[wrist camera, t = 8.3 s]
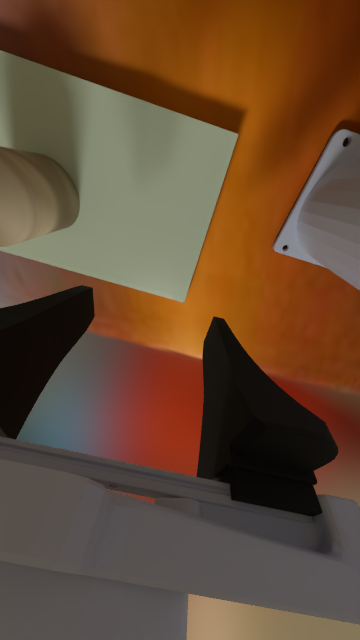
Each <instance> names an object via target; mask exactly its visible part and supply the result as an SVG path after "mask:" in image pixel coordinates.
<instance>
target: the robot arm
mask: <svg viewBox="0 0 360 640" xmlns="http://www.w3.org/2000/svg"><path fill="white" fill-rule="evenodd" d="M345 138H348V144H347V145H346V147H343V141H344V139H345ZM285 245H287V248H286V249H285V250H282V248H283V246H285ZM273 249H274V250H275V251H276V252H278V253H282V254H285V255H288V256H291V257H294V258H298V259H301V260H304V261H307V262H310V263H314V264H317V265H320V266H323V267H326V268H328V269H329V270H331V271H332V272H333V273H335V274H336V275H338V276H339V277H341V278H342V279H344V280H345V281H347V282H348V283H350V284H351V285H353V286H354V287H355V288H357V289H358V290H360V134H358V133H355V132H352V131H349V130H347V129H341V130H339V131H336V132H335V133H334V134H333V135H332V137H331V138H330V140H329V142H328V144H327V145H326V147H325V149H324V151H323V153H322V155H321V157H320V158H319V160H318V162H317V164H316V166H315V168H314V170H313V171H312V173H311V175H310V177H309V179H308V181H307V183H306V184H305V186H304V188H303V190H302V192H301V194H300V196H299V198H298V199H297V201H296V203H295V205H294V207H293V209H292V211H291V212H290V214H289V216H288V218H287V220H286V222H285V224H284V225H283V227H282V229H281V231H280V233H279V235H278V237H277V238H276V240H275V242H274V244H273ZM94 316H95V315H94V302H93V288H91V287H87V286H83V285H82V286H77V287H74V288H71V289H67V290H64V291H61V292H58V293H55V294H52V295H49V296H46V297H43V298H39V299H36V300H32V301H29V302H26V303H22V304H18V305H14V306H9V307H5V308H0V640H186V632H187V610H188V594H194V595H199V596H205V597H210V598H216V599H222V600H227V601H233V602H238V603H244V604H250V605H255V606H261V607H266V608H272V609H277V610H283V611H288V612H294V613H299V614H305V615H310V616H316V617H321V618H327V619H332V620H338V621H343V622H349V623H354V624H360V507H359V505H358V503H357V502H355V501H354V500H350V499H345V498H340V497H335V496H330V495H316V492H315V490H314V487H313V485H315V484H317V479H316V477H315V474H314V472H313V471H314V470H316V469H318V468H320V467H322V466H324V465H326V464H327V463H329V462H331V461H332V460H334V459H335V457H336V456H337V454H338V447H337V445H336V443H335V441H334V439H333V437H332V435H331V433H330V431H329V429H328V427H327V425H326V423H325V422H324V421H323V420H321V419H320V418H318V417H317V416H316V415H314V414H313V413H312V412H310V411H309V410H307V409H306V408H305V407H303V406H302V405H300V404H299V403H298V402H297V401H296V400H294V399H293V398H292V397H291V396H289V395H288V394H287V393H286V392H285V391H284V390H282V389H281V388H280V387H279V386H278V385H276V383H274V381H272V380H271V379H270V378H269V377H268V376H267V375H266V374H265V373H264V372H263V371H262V370H261V369H260V368H259V366H258V365H257V364H256V363H255V362H254V361H253V360H252V359H251V357H250V356H249V355H248V354H247V352H246V351H245V350H244V348H243V347H242V346H241V344H240V343H239V341H238V340H237V339H236V337H235V336H234V334H233V333H232V331H231V329H230V328H229V326H228V325H227V323H226V321H225V320H224V319H222V318H218V317H213V320H212V322H211V325H210V327H209V330H208V333H207V335H206V338H205V340H204V346H203V379H204V404H203V418H202V419H203V420H202V431H201V441H200V452H199V461H198V470H197V477H194V476H189V475H185V474H180V473H175V472H170V471H165V470H160V469H155V468H151V467H146V466H141V465H136V464H131V463H126V462H122V461H117V460H112V459H107V458H102V457H97V456H92V455H88V454H83V453H78V452H73V451H68V450H63V449H59V448H53V447H48V446H44V445H39V444H34V443H29V442H25V441H20V440H16V438H17V436H18V434H19V432H20V430H21V428H22V426H23V424H24V422H25V421H26V419H27V417H28V415H29V413H30V411H31V410H32V408H33V406H34V404H35V403H36V401H37V399H38V397H39V395H40V394H41V392H42V390H43V389H44V387H45V386H46V384H47V382H48V381H49V379H50V377H51V376H52V374H53V373H54V371H55V370H56V368H57V367H58V365H59V364H60V362H61V361H62V360H63V358H64V357H65V356H66V354H67V353H68V352H69V351H70V350H71V348H72V347H73V346H74V345H75V344H76V343H77V341H78V340H79V339H80V337H81V336H82V335H83V334H84V333H85V331H86V330H87V329H88V327H89V325H90V324H91V322H92V320H93V318H94ZM107 489H111V490H116V491H121V492H126V493H131V494H136V495H141V496H146V497H151V498H156V500H155V503H151V502H147V501H144V500H141V499H137V498H134V497H130V496H127V495H124V494H120V493H117V492H114V491H110V490H107Z"/></svg>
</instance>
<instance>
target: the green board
mask: <svg viewBox="0 0 360 640" xmlns="http://www.w3.org/2000/svg"><path fill="white" fill-rule="evenodd" d="M237 137H238V134H237V133H234V132H231V131H228V130H225V129H222V128H220V127H217V126H214V125H211V124H208V123H205V122H203V121H200V120H197V119H194V118H191V117H188V116H186V115H183V114H180V113H177V112H174V111H171V110H169V109H166V108H163V107H160V106H157V105H154V104H152V103H149V102H146V101H143V100H140V99H137V98H135V97H132V96H129V95H126V94H123V93H120V92H117V91H115V90H112V89H109V88H106V87H103V86H100V85H98V84H95V83H92V82H89V81H86V80H83V79H81V78H78V77H75V76H72V75H69V74H66V73H64V72H61V71H58V70H55V69H52V68H49V67H47V66H44V65H41V64H38V63H35V62H32V61H30V60H27V59H24V58H21V57H18V56H15V55H12V54H10V53H7V52H4V51H1V50H0V146H1V147H6V148H12V149H17V150H23V151H28V152H34V153H39V154H43V155H46V156H48V157H50V158H52V159H53V160H55V161H56V162H57V163H59V164H60V165H61V166H62V167H63V168H64V169H65V171H66V172H67V173H68V174H69V176H70V177H71V179H72V181H73V183H74V185H75V187H76V189H77V192H78V196H79V203H80V209H79V215H78V217H77V219H76V221H75V222H74V223H73V224H72V225H71V226H69V227H67V228H64V229H61V230H58V231H55V232H52V233H48V234H45V235H42V236H39V237H36V238H33V239H30V240H27V241H23V242H20V243H17V244H14V245H11V246H7V247H0V251H4V252H7V253H11V254H14V255H18V256H21V257H25V258H28V259H32V260H35V261H39V262H42V263H46V264H49V265H53V266H56V267H60V268H63V269H67V270H70V271H74V272H77V273H81V274H84V275H88V276H92V277H95V278H99V279H102V280H106V281H109V282H113V283H116V284H120V285H123V286H127V287H130V288H134V289H137V290H141V291H144V292H148V293H151V294H155V295H158V296H162V297H165V298H169V299H172V300H176V301H179V302H183V303H184V301H185V298H186V295H187V292H188V289H189V286H190V283H191V279H192V276H193V273H194V270H195V267H196V264H197V261H198V258H199V255H200V252H201V249H202V245H203V242H204V239H205V236H206V233H207V230H208V227H209V224H210V221H211V218H212V215H213V211H214V208H215V205H216V202H217V199H218V196H219V193H220V190H221V187H222V184H223V181H224V177H225V174H226V171H227V168H228V165H229V162H230V159H231V156H232V153H233V150H234V146H235V143H236V140H237Z"/></svg>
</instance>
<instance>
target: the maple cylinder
mask: <svg viewBox="0 0 360 640" xmlns="http://www.w3.org/2000/svg"><path fill="white" fill-rule="evenodd" d="M79 209H80V203H79V196H78V192H77V189H76V187H75V185H74V183H73V181H72V179H71V177H70V176H69V174H68V173H67V172H66V171H65V169H64V168H63V167H62V166H61V165H60V164H59V163H57V162H56V161H55V160H53V159H52V158H50V157H48V156H46V155H43V154H39V153H34V152H28V151H23V150H17V149H12V148H6V147H1V146H0V247H7V246H11V245H14V244H17V243H20V242H23V241H27V240H30V239H33V238H36V237H39V236H42V235H45V234H48V233H52V232H55V231H58V230H61V229H64V228H67V227H69V226H71V225H72V224H73V223H74V222H75V221H76V219H77V217H78V215H79Z"/></svg>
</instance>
